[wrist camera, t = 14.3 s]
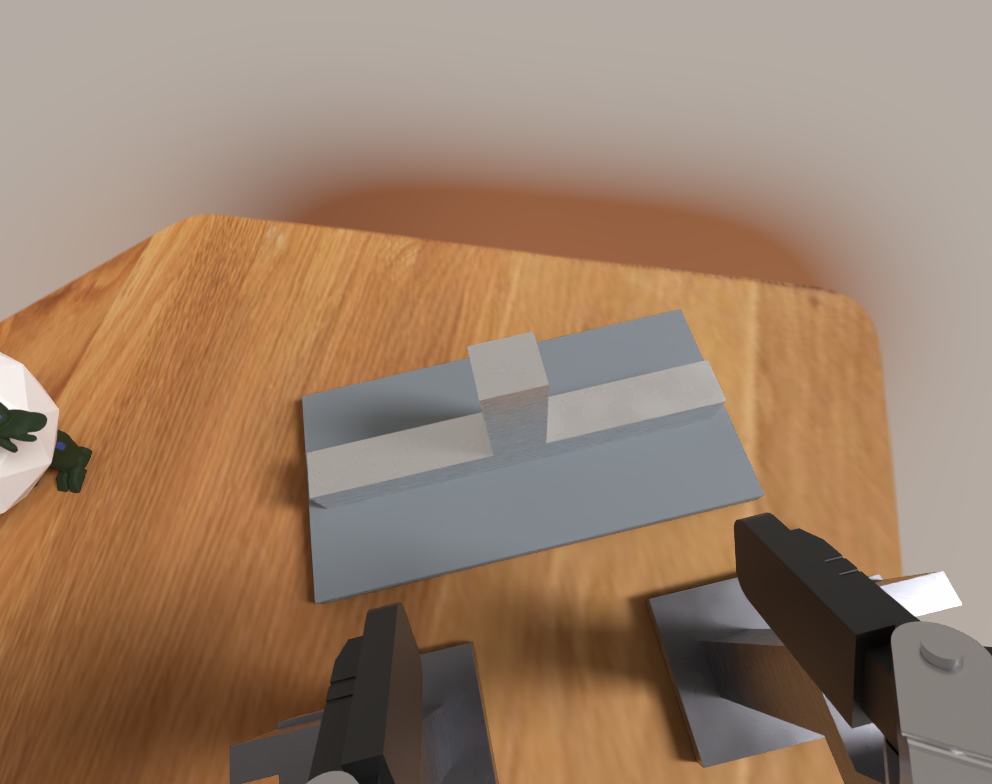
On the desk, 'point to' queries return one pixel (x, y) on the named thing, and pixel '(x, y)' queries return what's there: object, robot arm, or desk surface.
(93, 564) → the desk surface
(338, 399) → the mat
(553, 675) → the desk surface
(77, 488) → the figurine
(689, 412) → the rail
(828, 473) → the desk surface
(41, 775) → the desk surface
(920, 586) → the hook stand
